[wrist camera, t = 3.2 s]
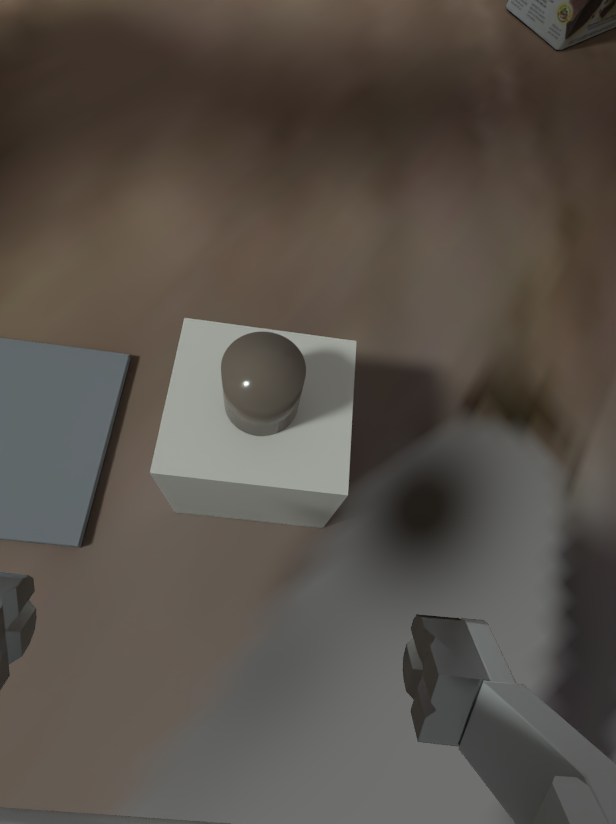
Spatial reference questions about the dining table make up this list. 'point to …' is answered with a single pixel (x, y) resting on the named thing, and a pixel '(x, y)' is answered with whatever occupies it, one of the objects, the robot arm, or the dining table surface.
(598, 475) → the dining table surface
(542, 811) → the robot arm
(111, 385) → the felt mat
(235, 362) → the perfume bottle
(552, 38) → the coffee box
